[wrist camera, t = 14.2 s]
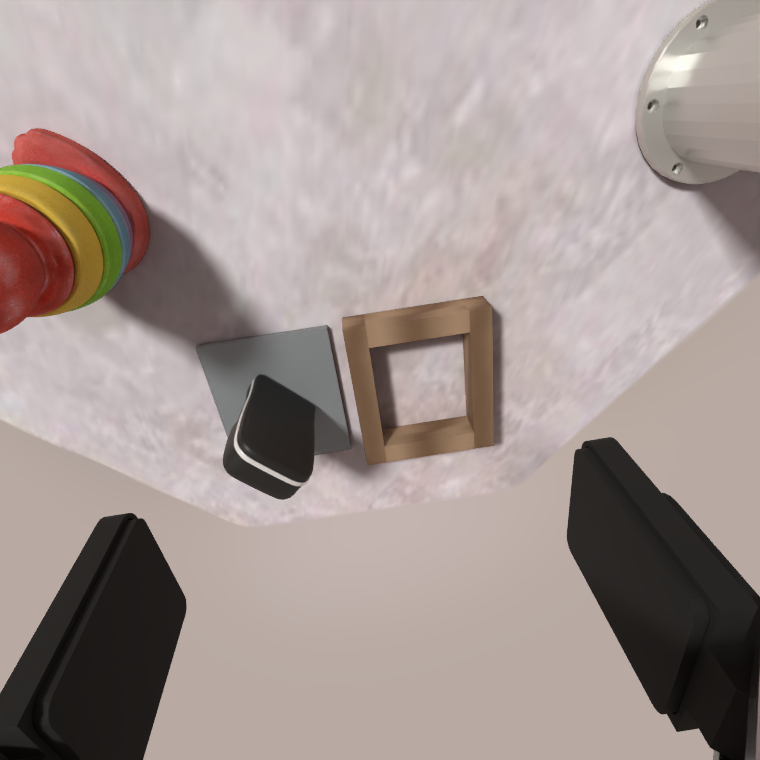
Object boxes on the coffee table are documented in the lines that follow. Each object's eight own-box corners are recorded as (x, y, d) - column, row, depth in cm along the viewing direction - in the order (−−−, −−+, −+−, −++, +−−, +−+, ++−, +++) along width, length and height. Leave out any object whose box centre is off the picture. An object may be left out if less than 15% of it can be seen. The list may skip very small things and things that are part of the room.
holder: (482, 295, 44) (492, 307, 41) (485, 428, 51) (493, 445, 49) (342, 317, 44) (342, 330, 41) (365, 447, 51) (367, 465, 48)
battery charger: (236, 397, 46) (210, 476, 36) (257, 369, 45) (236, 443, 35) (297, 431, 49) (288, 514, 39) (319, 406, 47) (315, 484, 37)
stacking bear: (21, 117, 34) (-237, 123, 19) (167, 179, 37) (47, 230, 21) (7, 256, 39) (-210, 353, 23) (138, 302, 41) (22, 417, 26)
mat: (326, 325, 44) (326, 327, 43) (351, 445, 51) (351, 449, 50) (197, 345, 44) (195, 348, 43) (239, 463, 51) (238, 466, 50)
